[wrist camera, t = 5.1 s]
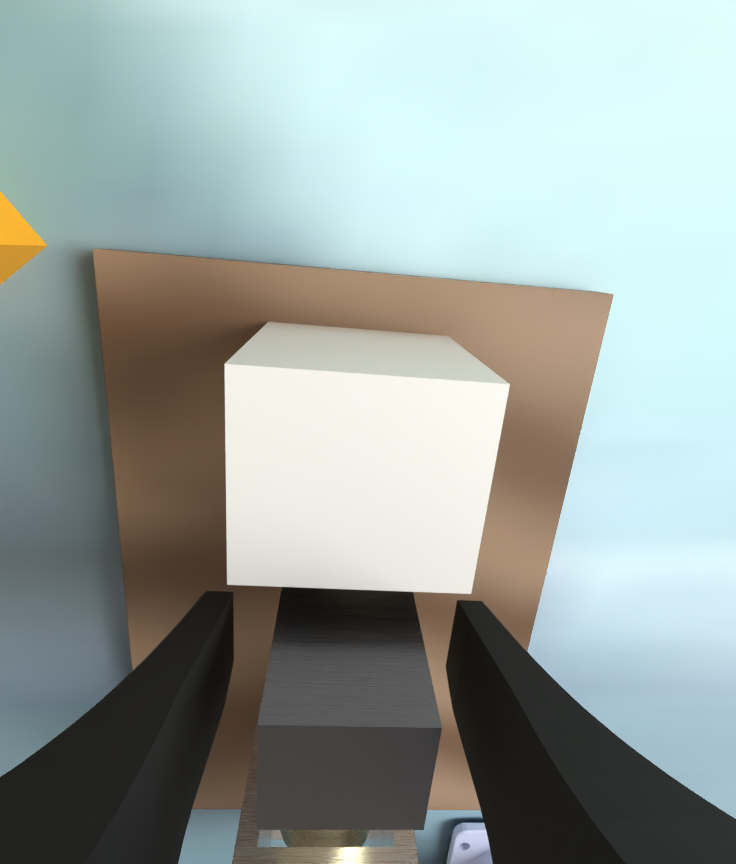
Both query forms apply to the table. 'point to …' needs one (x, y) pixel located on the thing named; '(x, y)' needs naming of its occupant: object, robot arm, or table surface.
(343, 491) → the white square block
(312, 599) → the block with brass knob
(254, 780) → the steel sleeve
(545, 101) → the table surface
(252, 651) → the walnut board
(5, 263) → the yellow u-shaped block
